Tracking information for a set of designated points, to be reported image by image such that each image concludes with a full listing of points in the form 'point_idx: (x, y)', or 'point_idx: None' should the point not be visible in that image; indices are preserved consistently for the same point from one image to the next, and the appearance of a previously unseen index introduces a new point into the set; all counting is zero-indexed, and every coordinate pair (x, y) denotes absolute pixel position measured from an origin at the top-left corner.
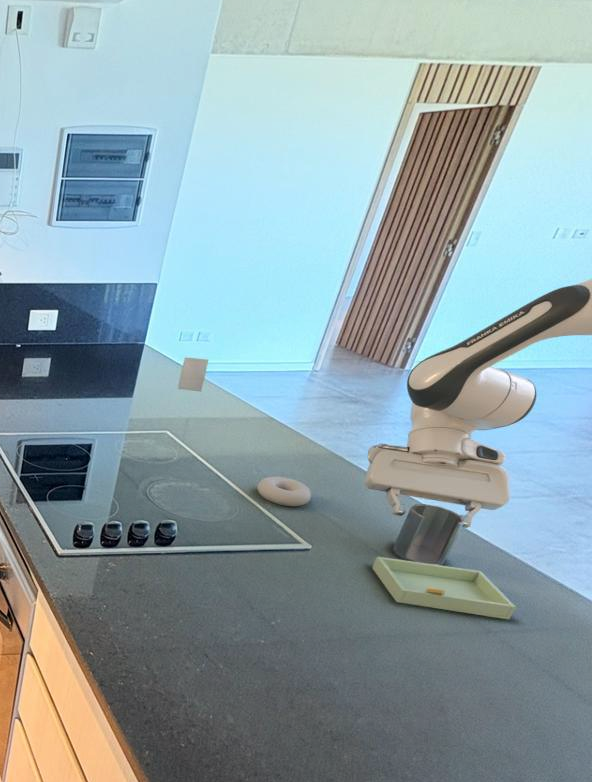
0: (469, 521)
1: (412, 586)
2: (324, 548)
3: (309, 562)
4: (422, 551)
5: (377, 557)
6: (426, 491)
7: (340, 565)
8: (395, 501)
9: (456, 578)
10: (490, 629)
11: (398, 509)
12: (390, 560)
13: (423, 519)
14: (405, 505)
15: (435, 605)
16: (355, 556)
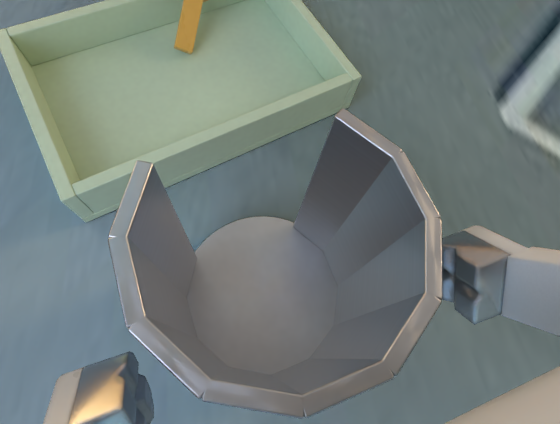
0: (65, 387)
1: (246, 59)
2: (477, 132)
3: (461, 40)
4: (255, 322)
5: (359, 74)
6: (511, 394)
7: (408, 71)
8: (545, 248)
9: None
10: (75, 6)
11: (475, 235)
12: (326, 81)
13: (331, 125)
14: (476, 262)
15: None
16: (403, 144)
